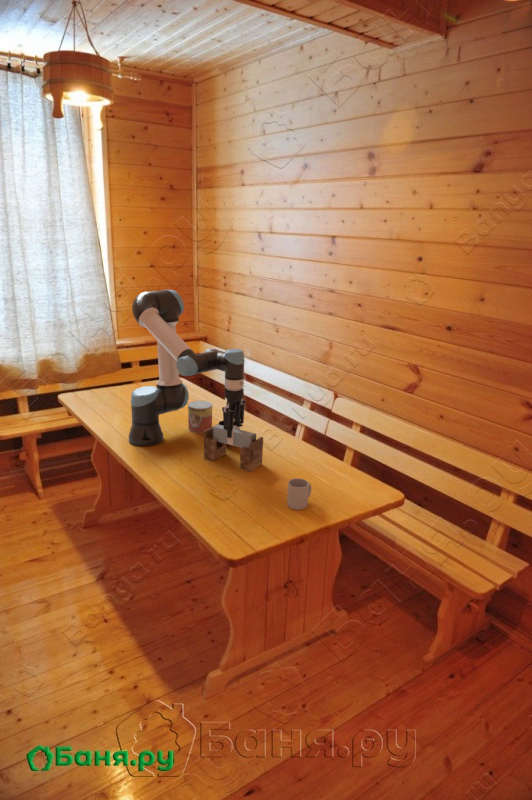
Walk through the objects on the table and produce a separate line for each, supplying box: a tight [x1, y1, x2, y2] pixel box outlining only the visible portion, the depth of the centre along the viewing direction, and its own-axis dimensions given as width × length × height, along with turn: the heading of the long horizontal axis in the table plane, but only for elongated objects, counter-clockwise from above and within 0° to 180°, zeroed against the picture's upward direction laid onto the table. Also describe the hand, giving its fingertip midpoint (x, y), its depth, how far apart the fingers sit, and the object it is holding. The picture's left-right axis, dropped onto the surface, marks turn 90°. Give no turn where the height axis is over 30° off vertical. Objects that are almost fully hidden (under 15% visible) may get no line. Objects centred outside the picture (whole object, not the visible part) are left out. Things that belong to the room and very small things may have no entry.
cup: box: [286, 477, 312, 511], centre depth 203 cm, size 7×10×9 cm
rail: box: [212, 423, 257, 448], centre depth 233 cm, size 19×4×6 cm, turn 59°
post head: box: [203, 426, 227, 462], centre depth 239 cm, size 5×9×12 cm, turn 149°
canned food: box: [187, 400, 213, 434], centre depth 268 cm, size 11×11×12 cm
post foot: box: [239, 436, 264, 473], centre depth 230 cm, size 5×9×12 cm, turn 149°
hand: (233, 442), depth 234 cm, fingers closed on rail, 3 cm apart
